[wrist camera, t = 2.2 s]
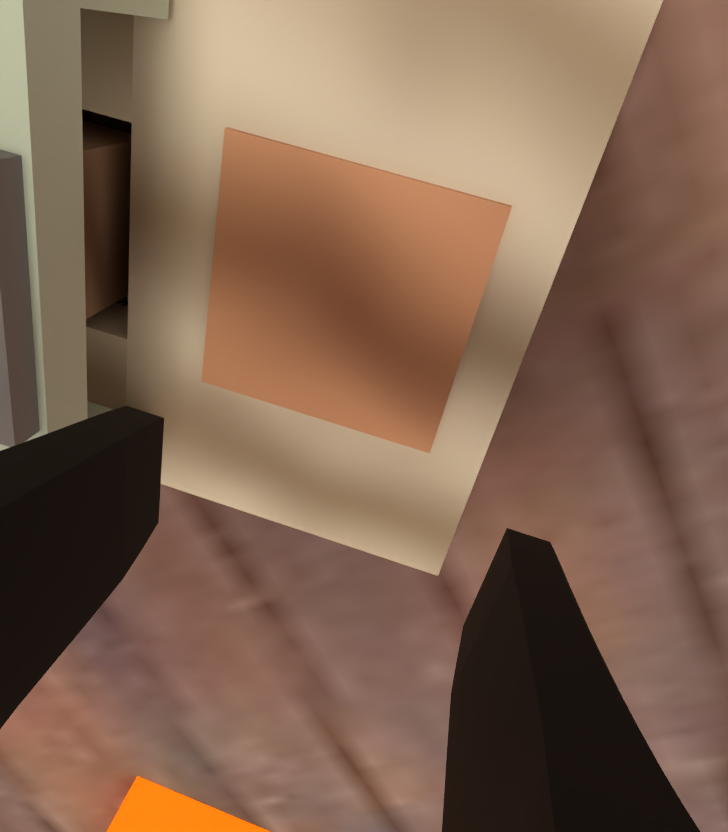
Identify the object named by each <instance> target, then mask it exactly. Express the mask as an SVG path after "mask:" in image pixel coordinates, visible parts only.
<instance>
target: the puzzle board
mask: <svg viewBox="0 0 728 832" xmlns="http://www.w3.org/2000/svg"><path fill="white" fill-rule="evenodd" d="M662 2H663V0H169V12H168V20H167V19H159V18H152V17H144V16H137V15H129V14H121V13H114V12H106V11H99V10H91V9H83V8H80V20H81V77H82V109H84V110H88V111H91V112H95V113H98V114H102V115H106V116H109V117H113V118H116V119H120V120H123V121H127V122H131V123H132V132H131V182H130V231H129V281H128V306H125V305H121V304H118V303H114V304H112V305H111V306H109V307H107V308H105V309H103V310H102V311H100V312H98V313H96V314H95V315H93V316H91V317H89V318H88V319H86V359H87V401H89V402H92V403H95V404H98V405H101V406H104V407H108V408H111V409H117V408H120V407H124V406H129V407H132V408H135V409H138V410H141V411H144V412H147V413H151V414H154V415H157V416H160V417H163V418H164V432H163V449H162V466H161V484H163V485H166V486H169V487H172V488H175V489H178V490H181V491H184V492H187V493H190V494H193V495H196V496H199V497H202V498H205V499H208V500H211V501H214V502H217V503H220V504H223V505H226V506H229V507H232V508H235V509H238V510H241V511H244V512H247V513H250V514H253V515H256V516H259V517H262V518H265V519H268V520H271V521H274V522H277V523H280V524H283V525H286V526H289V527H292V528H296V529H299V530H302V531H305V532H308V533H311V534H314V535H317V536H320V537H323V538H326V539H329V540H332V541H335V542H338V543H341V544H344V545H347V546H350V547H353V548H356V549H359V550H362V551H365V552H368V553H371V554H374V555H377V556H380V557H383V558H386V559H389V560H392V561H395V562H398V563H401V564H404V565H407V566H410V567H413V568H416V569H419V570H422V571H425V572H428V573H431V574H434V575H437V576H438V575H439V572H440V569H441V567H442V564H443V562H444V559H445V557H446V554H447V552H448V549H449V546H450V544H451V541H452V539H453V536H454V534H455V531H456V528H457V526H458V523H459V521H460V518H461V516H462V513H463V511H464V508H465V505H466V503H467V500H468V498H469V495H470V493H471V490H472V488H473V485H474V482H475V480H476V477H477V475H478V472H479V470H480V467H481V465H482V462H483V459H484V457H485V454H486V452H487V449H488V447H489V444H490V442H491V439H492V436H493V434H494V431H495V429H496V426H497V424H498V421H499V419H500V416H501V413H502V411H503V408H504V406H505V403H506V401H507V398H508V396H509V393H510V390H511V388H512V385H513V383H514V380H515V378H516V375H517V373H518V370H519V367H520V365H521V362H522V360H523V357H524V355H525V352H526V350H527V347H528V344H529V342H530V339H531V337H532V334H533V332H534V329H535V327H536V324H537V321H538V319H539V316H540V314H541V311H542V309H543V306H544V303H545V301H546V298H547V296H548V293H549V291H550V288H551V286H552V283H553V280H554V278H555V275H556V273H557V270H558V268H559V265H560V263H561V260H562V257H563V255H564V252H565V250H566V247H567V245H568V242H569V240H570V237H571V234H572V232H573V229H574V227H575V224H576V222H577V219H578V217H579V214H580V211H581V209H582V206H583V204H584V201H585V199H586V196H587V194H588V191H589V188H590V186H591V183H592V181H593V178H594V176H595V173H596V171H597V168H598V165H599V163H600V160H601V158H602V155H603V153H604V150H605V148H606V145H607V142H608V140H609V137H610V135H611V132H612V130H613V127H614V125H615V122H616V119H617V117H618V114H619V112H620V109H621V107H622V104H623V102H624V99H625V96H626V94H627V91H628V89H629V86H630V84H631V81H632V78H633V76H634V73H635V71H636V68H637V66H638V63H639V61H640V58H641V55H642V53H643V50H644V48H645V45H646V43H647V40H648V38H649V35H650V32H651V30H652V27H653V25H654V22H655V20H656V17H657V15H658V12H659V9H660V7H661V4H662Z"/></svg>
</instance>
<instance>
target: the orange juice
mask: <svg viewBox="0 0 728 832" xmlns="http://www.w3.org/2000/svg"><path fill="white" fill-rule="evenodd" d="M107 832H270V831H268V830H265V829H263V828H260V827H258V826H256V825H253V824H251V823H248V822H246V821H244V820H241V819H239V818H237V817H234V816H232V815H229V814H227V813H225V812H222V811H220V810H217V809H215V808H213V807H210V806H208V805H206V804H203V803H201V802H198V801H196V800H194V799H191V798H189V797H186V796H184V795H182V794H179V793H177V792H174V791H172V790H170V789H167V788H165V787H163V786H160V785H158V784H155V783H153V782H151V781H148V780H146V779H143V778H141V777H139V776H137V777H136V779H135V781H134V783H133V785H132V786H131V788H130V790H129V792H128V794H127V796H126V797H125V799H124V801H123V803H122V805H121V806H120V808H119V810H118V812H117V814H116V815H115V817H114V819H113V821H112V823H111V824H110V826H109V828H108V830H107Z"/></svg>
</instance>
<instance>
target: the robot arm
mask: <svg viewBox="0 0 728 832" xmlns="http://www.w3.org/2000/svg"><path fill="white" fill-rule="evenodd" d="M163 432H164V418H163V417H160V416H157V415H154V414H151V413H147V412H144V411H141V410H138V409H135V408H132V407H129V406H124V407H120V408H117V409H114V410H111V411H108V412H105V413H102V414H99V415H96V416H93V417H91V418H88V419H85V420H83V421H80V422H77V423H74V424H72V425H69V426H66V427H64V428H61V429H58V430H56V431H53V432H50V433H48V434H45V435H42V436H40V437H37V438H34V439H31V440H29V441H26V442H23V443H21V444H18V445H15V446H12V447H10V448H7V449H4V450H1V451H0V729H1V727H2V726H3V725H4V723H5V722H6V721H7V720H8V718H9V717H10V716H11V714H12V713H13V712H14V710H15V709H16V708H17V706H18V705H19V704H20V703H21V702H22V700H23V699H24V698H25V697H26V696H27V694H28V693H29V692H30V691H31V690H32V688H33V687H34V686H35V685H36V684H37V682H38V681H39V680H40V679H41V678H42V676H43V675H44V674H45V673H46V672H47V670H48V669H49V668H50V667H51V666H52V664H53V663H54V662H55V661H56V660H57V658H58V657H59V656H60V655H61V653H62V652H63V651H64V650H65V649H66V647H67V646H68V645H69V644H70V643H71V641H72V640H73V639H74V638H75V637H76V635H77V634H78V633H79V632H80V631H81V629H82V628H83V627H84V626H85V625H86V623H87V622H88V621H89V620H90V619H91V617H92V616H93V615H94V614H95V612H96V611H97V610H98V609H99V608H100V606H101V605H102V604H103V603H104V601H105V600H106V599H107V598H108V596H109V595H110V594H111V593H112V592H113V590H114V589H115V588H116V587H117V585H118V584H119V583H120V582H121V580H122V579H123V578H124V576H125V575H126V573H127V572H128V570H129V568H130V567H131V565H132V564H133V562H134V561H135V559H136V558H137V556H138V555H139V553H140V552H141V550H142V548H143V547H144V545H145V543H146V542H147V540H148V538H149V537H150V535H151V534H152V532H153V530H154V529H155V527H156V525H157V524H158V518H159V501H160V484H161V466H162V449H163ZM442 832H700V831H699V829H698V827H697V826H696V824H695V823H694V821H693V820H692V818H691V817H690V815H689V813H688V812H687V810H686V809H685V807H684V806H683V804H682V802H681V801H680V799H679V797H678V796H677V794H676V792H675V791H674V789H673V788H672V786H671V784H670V783H669V781H668V779H667V778H666V776H665V774H664V772H663V771H662V769H661V767H660V766H659V764H658V762H657V760H656V758H655V757H654V755H653V753H652V751H651V749H650V748H649V746H648V744H647V742H646V740H645V739H644V737H643V735H642V733H641V731H640V730H639V728H638V726H637V724H636V722H635V720H634V719H633V717H632V715H631V713H630V711H629V709H628V707H627V705H626V703H625V701H624V700H623V698H622V696H621V694H620V692H619V690H618V688H617V686H616V684H615V682H614V680H613V678H612V676H611V674H610V672H609V670H608V667H607V665H606V663H605V661H604V659H603V657H602V655H601V653H600V651H599V649H598V647H597V645H596V643H595V641H594V639H593V637H592V634H591V632H590V630H589V628H588V626H587V624H586V621H585V619H584V617H583V615H582V613H581V610H580V608H579V606H578V604H577V601H576V599H575V597H574V595H573V592H572V590H571V588H570V586H569V583H568V581H567V579H566V576H565V574H564V572H563V569H562V567H561V565H560V562H559V560H558V558H557V556H556V553H555V551H554V549H553V547H552V545H551V543H550V542H548V541H545V540H542V539H539V538H536V537H533V536H530V535H526V534H523V533H520V532H517V531H514V530H511V529H508V528H507V530H506V532H505V534H504V536H503V538H502V541H501V543H500V545H499V547H498V550H497V552H496V554H495V556H494V559H493V561H492V563H491V565H490V568H489V570H488V572H487V574H486V576H485V579H484V581H483V583H482V585H481V588H480V590H479V592H478V594H477V597H476V599H475V601H474V603H473V606H472V608H471V610H470V612H469V614H468V617H467V619H466V621H465V623H464V626H463V631H462V636H461V642H460V647H459V652H458V658H457V663H456V669H455V674H454V680H453V686H452V692H451V704H450V718H449V732H448V747H447V762H446V778H445V793H444V809H443V824H442Z"/></svg>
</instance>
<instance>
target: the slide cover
mask: <svg viewBox="0 0 728 832" xmlns="http://www.w3.org/2000/svg"><path fill="white" fill-rule="evenodd" d="M80 8H83V9H91V10H99V11H106V12H114V13H121V14H129V15H137V16H144V17H152V18H159V19H167V20H168V12H169V0H0V451H1V450H4V449H7V448H10V447H12V446H15V445H18V444H21V443H23V442H26V441H29V440H31V439H34V438H37V437H40V436H42V435H45V434H48V433H50V432H53V431H56V430H58V429H61V428H64V427H66V426H69V425H72V424H74V423H77V422H80V421H83V420H85V419H88V418H91V417H93V416H96V415H99V414H102V413H105V412H108V411H111V410H114V409H111V408H108V407H104V406H101V405H98V404H95V403H92V402H89V401H87V359H86V303H85V246H84V190H83V133H82V77H81V20H80Z"/></svg>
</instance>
